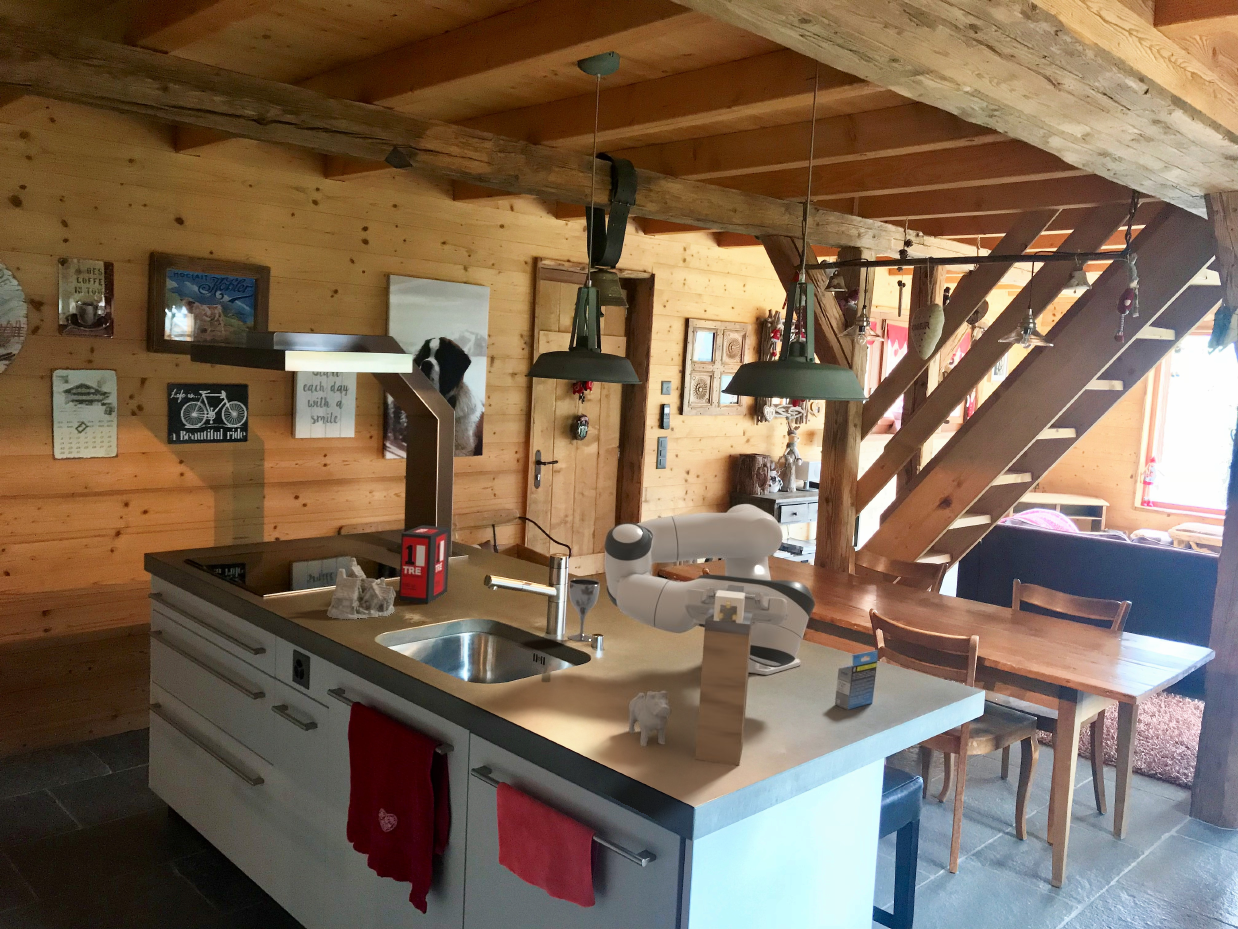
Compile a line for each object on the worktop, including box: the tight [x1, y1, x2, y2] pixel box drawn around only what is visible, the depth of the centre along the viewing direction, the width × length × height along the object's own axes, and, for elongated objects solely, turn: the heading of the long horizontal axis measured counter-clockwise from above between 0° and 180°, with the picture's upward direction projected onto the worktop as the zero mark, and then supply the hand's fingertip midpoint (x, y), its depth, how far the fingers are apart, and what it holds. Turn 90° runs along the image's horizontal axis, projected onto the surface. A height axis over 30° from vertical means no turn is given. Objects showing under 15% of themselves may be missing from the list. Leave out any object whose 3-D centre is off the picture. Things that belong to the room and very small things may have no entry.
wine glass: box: [567, 577, 601, 643], centre depth 249 cm, size 8×8×15 cm
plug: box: [714, 585, 745, 623], centre depth 178 cm, size 20×5×4 cm, turn 169°
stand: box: [694, 608, 753, 766], centre depth 176 cm, size 9×8×26 cm
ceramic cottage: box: [326, 557, 396, 620], centre depth 260 cm, size 16×16×15 cm
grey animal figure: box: [628, 690, 672, 747], centre depth 181 cm, size 5×13×11 cm, turn 20°
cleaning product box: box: [398, 525, 451, 605], centre depth 283 cm, size 16×9×20 cm, turn 171°
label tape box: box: [834, 649, 879, 711], centre depth 209 cm, size 9×4×12 cm, turn 128°
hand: (734, 594), depth 185 cm, fingers open, 8 cm apart
